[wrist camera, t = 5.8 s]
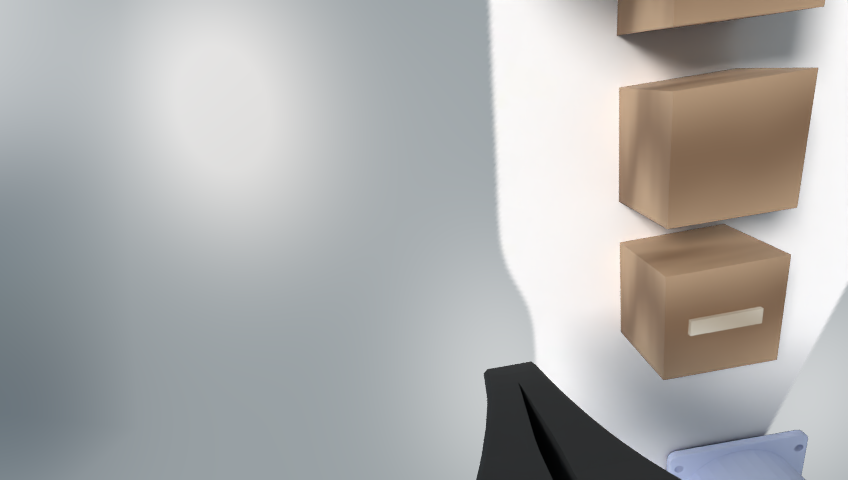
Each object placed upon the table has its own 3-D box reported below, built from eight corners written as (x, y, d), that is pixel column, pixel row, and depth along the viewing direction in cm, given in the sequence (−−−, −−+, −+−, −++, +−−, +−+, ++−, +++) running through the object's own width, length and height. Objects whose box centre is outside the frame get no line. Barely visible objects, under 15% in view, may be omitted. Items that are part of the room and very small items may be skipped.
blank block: (724, 182, 21) (796, 207, 17) (617, 200, 21) (667, 229, 17) (734, 68, 19) (818, 67, 15) (618, 87, 19) (673, 91, 15)
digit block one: (715, 313, 23) (779, 361, 19) (619, 330, 23) (665, 382, 19) (721, 222, 22) (794, 256, 18) (618, 241, 22) (668, 278, 18)
